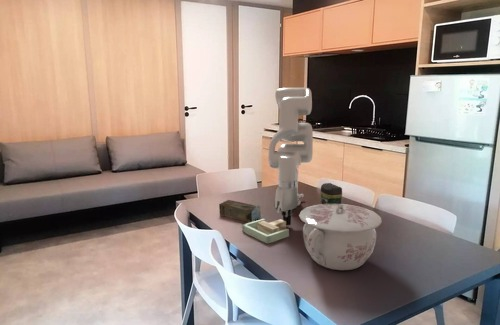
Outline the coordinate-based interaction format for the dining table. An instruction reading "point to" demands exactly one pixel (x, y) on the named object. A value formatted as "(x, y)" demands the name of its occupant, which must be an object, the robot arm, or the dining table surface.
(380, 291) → the dining table surface
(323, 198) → the coffee jar
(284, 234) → the dock
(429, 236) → the dining table surface
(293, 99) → the robot arm
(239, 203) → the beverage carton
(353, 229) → the chamber pot
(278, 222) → the t block
